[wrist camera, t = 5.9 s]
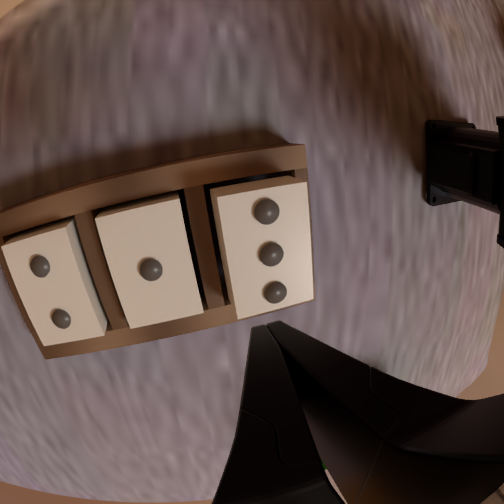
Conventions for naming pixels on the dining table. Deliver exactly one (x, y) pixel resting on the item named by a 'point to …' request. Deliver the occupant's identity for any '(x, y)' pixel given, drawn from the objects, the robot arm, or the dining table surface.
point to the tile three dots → (264, 243)
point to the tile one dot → (150, 259)
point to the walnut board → (137, 186)
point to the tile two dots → (56, 283)
